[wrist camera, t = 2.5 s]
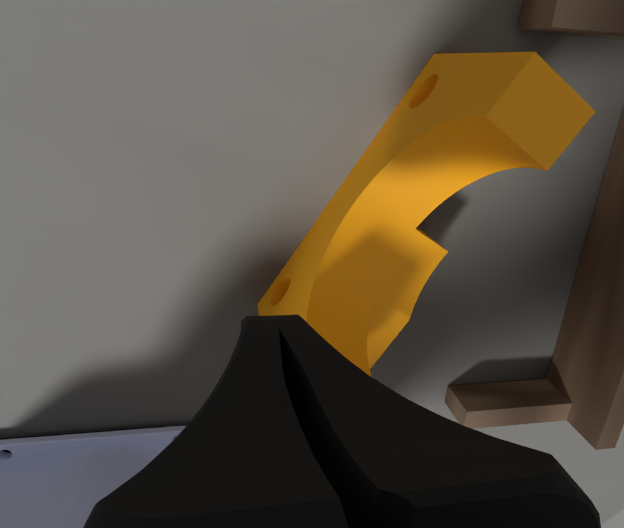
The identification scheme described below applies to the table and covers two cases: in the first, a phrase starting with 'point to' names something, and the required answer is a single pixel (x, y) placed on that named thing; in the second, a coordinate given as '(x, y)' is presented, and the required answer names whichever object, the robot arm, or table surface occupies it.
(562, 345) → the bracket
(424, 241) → the pipe clamp
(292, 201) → the table surface
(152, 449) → the robot arm
